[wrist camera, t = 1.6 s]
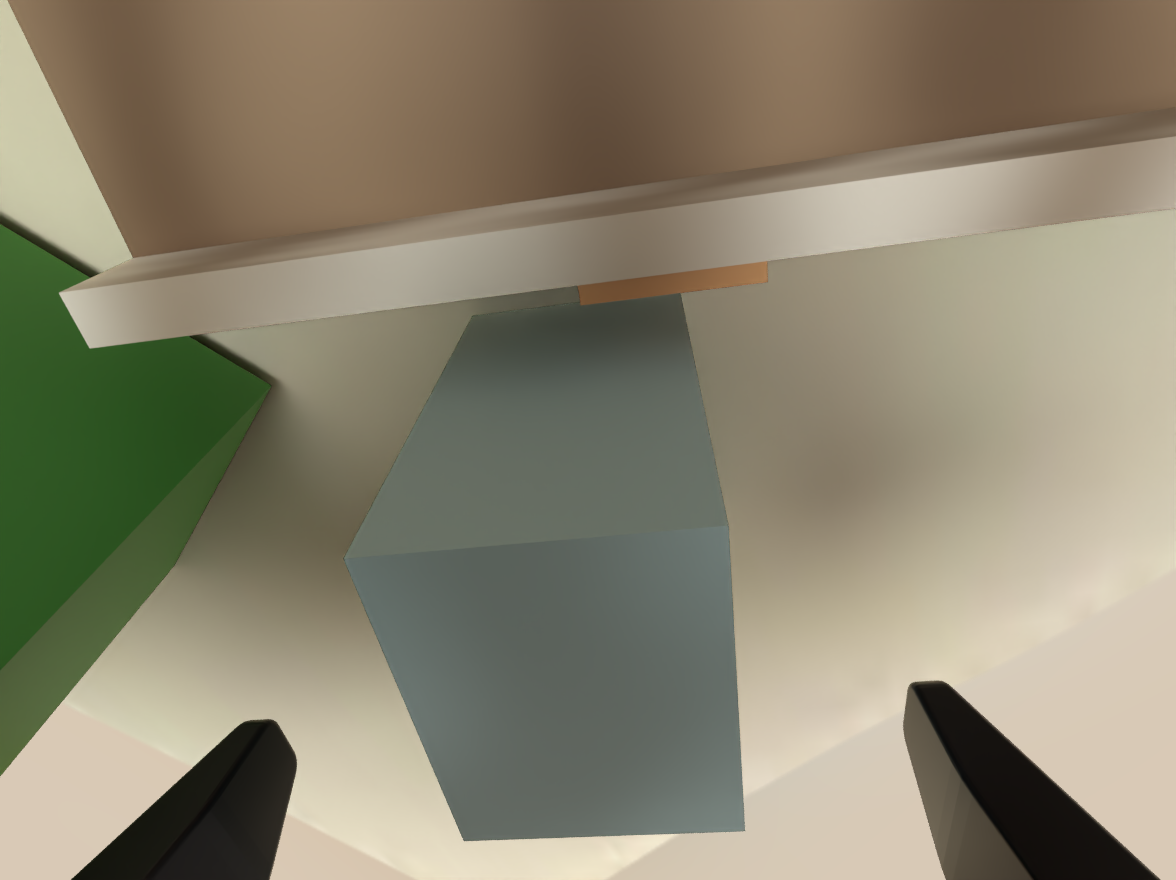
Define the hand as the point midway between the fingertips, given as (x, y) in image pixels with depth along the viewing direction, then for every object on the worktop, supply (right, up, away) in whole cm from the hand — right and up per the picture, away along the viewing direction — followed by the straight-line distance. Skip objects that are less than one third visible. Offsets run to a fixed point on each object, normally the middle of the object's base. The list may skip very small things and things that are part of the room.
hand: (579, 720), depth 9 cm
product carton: (0, +4, +7) cm, 8 cm away
